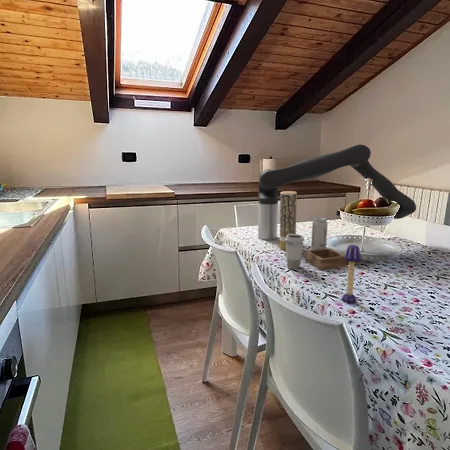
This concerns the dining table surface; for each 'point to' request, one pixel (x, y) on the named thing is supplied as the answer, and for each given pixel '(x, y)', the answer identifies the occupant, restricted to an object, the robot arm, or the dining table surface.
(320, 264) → the wooden tray
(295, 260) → the cup
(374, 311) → the dining table surface
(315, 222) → the energy drink can
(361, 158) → the robot arm
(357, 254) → the toy lamp
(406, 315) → the dining table surface
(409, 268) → the dining table surface
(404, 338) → the dining table surface
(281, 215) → the bark patterned cylinder
